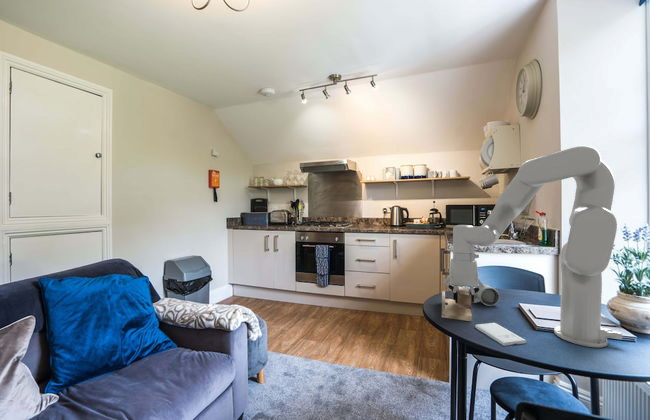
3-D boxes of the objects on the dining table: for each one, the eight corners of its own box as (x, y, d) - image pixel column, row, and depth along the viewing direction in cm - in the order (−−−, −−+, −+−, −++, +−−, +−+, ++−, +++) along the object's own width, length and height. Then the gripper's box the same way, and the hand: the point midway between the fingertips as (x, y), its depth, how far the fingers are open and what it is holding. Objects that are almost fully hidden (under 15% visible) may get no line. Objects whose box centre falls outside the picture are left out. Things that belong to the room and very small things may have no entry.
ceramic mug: (491, 299, 124) (490, 282, 124) (500, 306, 116) (499, 288, 116) (465, 299, 125) (465, 282, 125) (472, 306, 117) (472, 287, 117)
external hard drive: (495, 327, 99) (526, 344, 87) (475, 329, 98) (503, 347, 85) (495, 322, 99) (526, 339, 87) (475, 324, 97) (503, 342, 85)
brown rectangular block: (468, 299, 114) (468, 287, 114) (471, 309, 104) (471, 295, 103) (456, 298, 115) (456, 285, 115) (458, 307, 105) (458, 294, 105)
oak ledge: (468, 305, 117) (468, 294, 117) (471, 321, 102) (471, 308, 102) (441, 302, 121) (442, 291, 121) (441, 317, 106) (441, 304, 106)
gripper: (487, 256, 109) (486, 302, 110) (440, 253, 116) (440, 297, 116) (489, 260, 102) (489, 309, 103) (440, 257, 109) (440, 303, 109)
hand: (463, 302), depth 109 cm, fingers closed on brown rectangular block, 4 cm apart
